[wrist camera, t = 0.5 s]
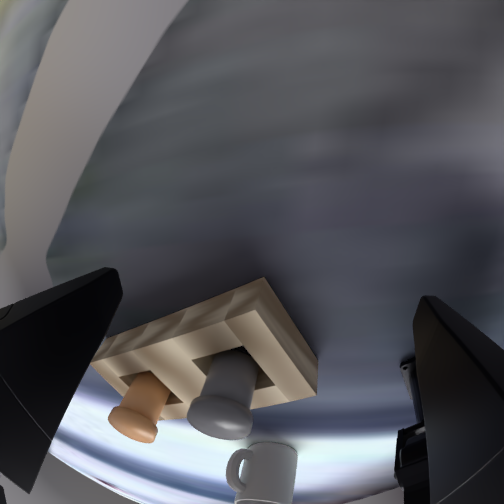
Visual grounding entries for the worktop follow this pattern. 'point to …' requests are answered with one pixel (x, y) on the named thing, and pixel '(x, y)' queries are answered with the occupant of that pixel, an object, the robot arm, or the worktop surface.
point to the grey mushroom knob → (226, 397)
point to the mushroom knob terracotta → (140, 408)
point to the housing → (214, 349)
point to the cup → (263, 474)
